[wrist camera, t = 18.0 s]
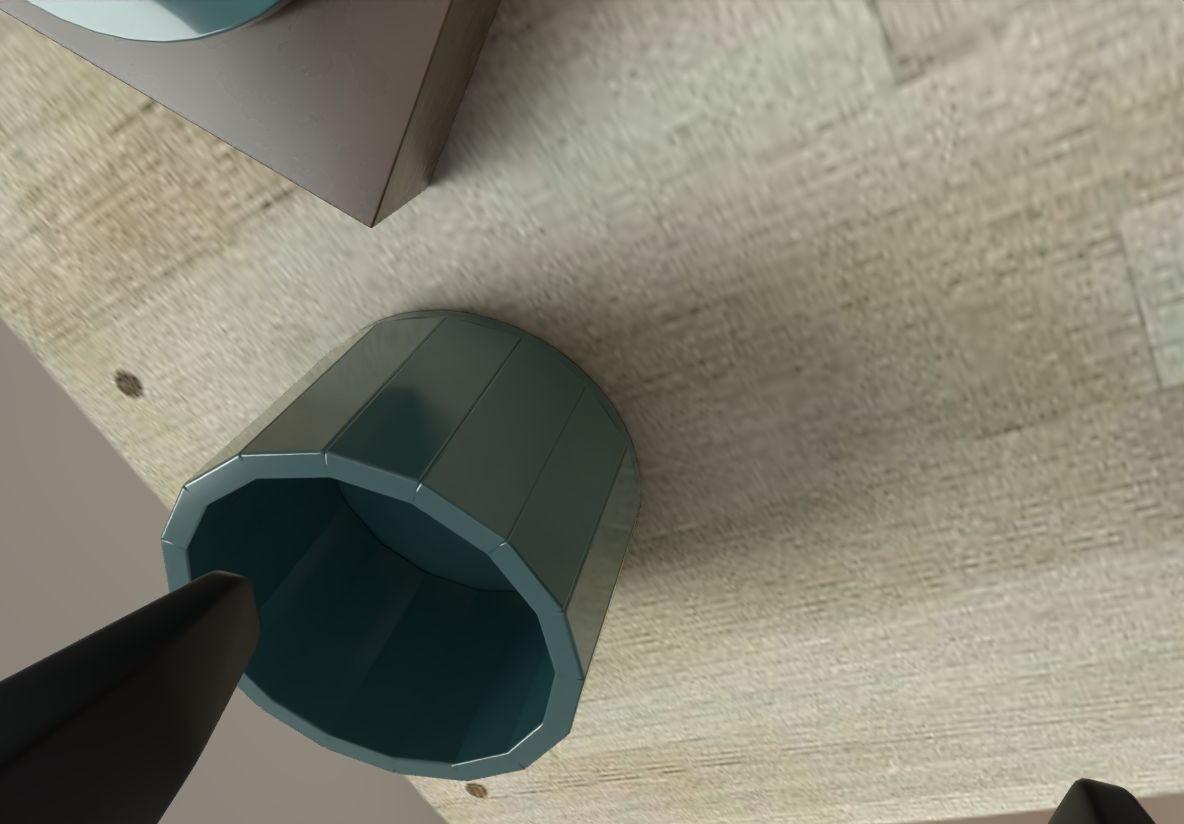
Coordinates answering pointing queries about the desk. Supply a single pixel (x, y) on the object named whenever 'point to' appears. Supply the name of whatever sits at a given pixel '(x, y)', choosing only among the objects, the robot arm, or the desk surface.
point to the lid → (161, 17)
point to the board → (313, 88)
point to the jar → (422, 543)
